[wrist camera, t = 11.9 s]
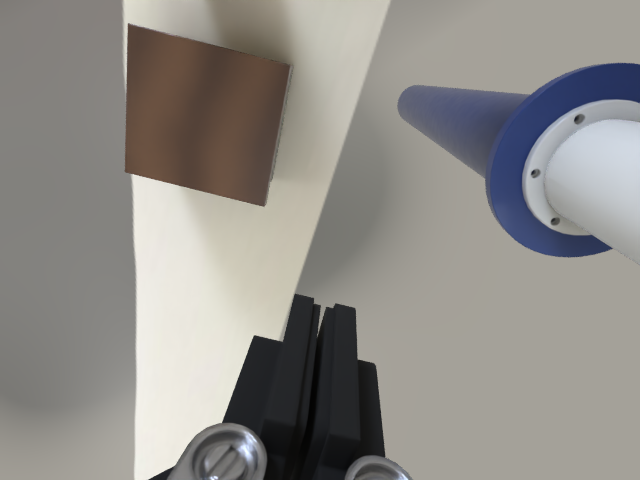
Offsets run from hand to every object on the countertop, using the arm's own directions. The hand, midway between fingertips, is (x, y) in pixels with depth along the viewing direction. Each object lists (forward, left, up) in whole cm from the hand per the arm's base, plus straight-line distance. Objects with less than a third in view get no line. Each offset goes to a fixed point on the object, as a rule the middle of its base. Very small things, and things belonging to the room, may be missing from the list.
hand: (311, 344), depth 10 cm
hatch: (+10, -4, -20) cm, 23 cm away
